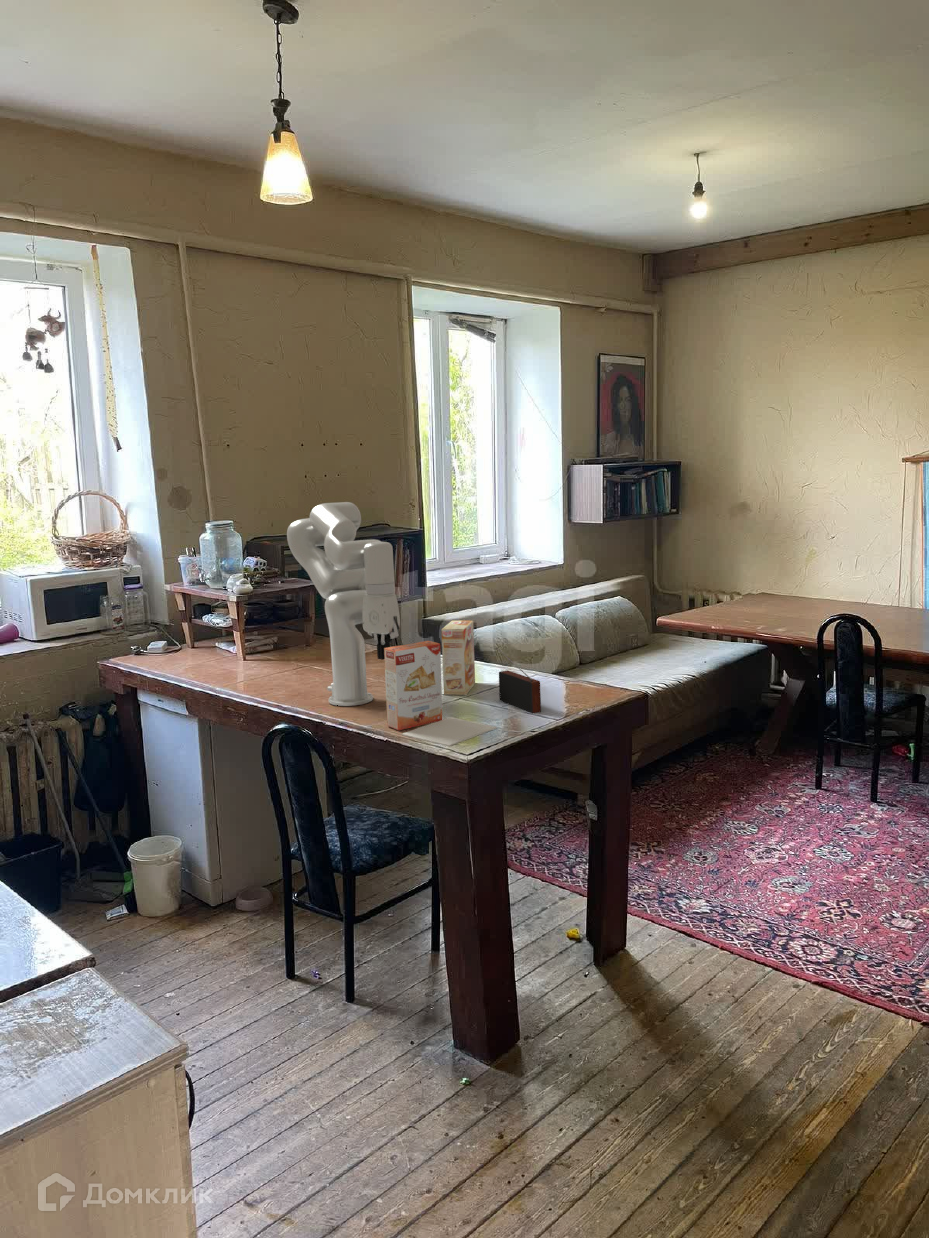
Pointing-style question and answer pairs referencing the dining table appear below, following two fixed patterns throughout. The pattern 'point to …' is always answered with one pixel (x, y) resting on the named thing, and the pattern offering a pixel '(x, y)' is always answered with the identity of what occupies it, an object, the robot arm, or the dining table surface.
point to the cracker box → (413, 684)
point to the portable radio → (519, 690)
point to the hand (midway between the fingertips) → (384, 658)
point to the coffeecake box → (458, 657)
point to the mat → (449, 731)
